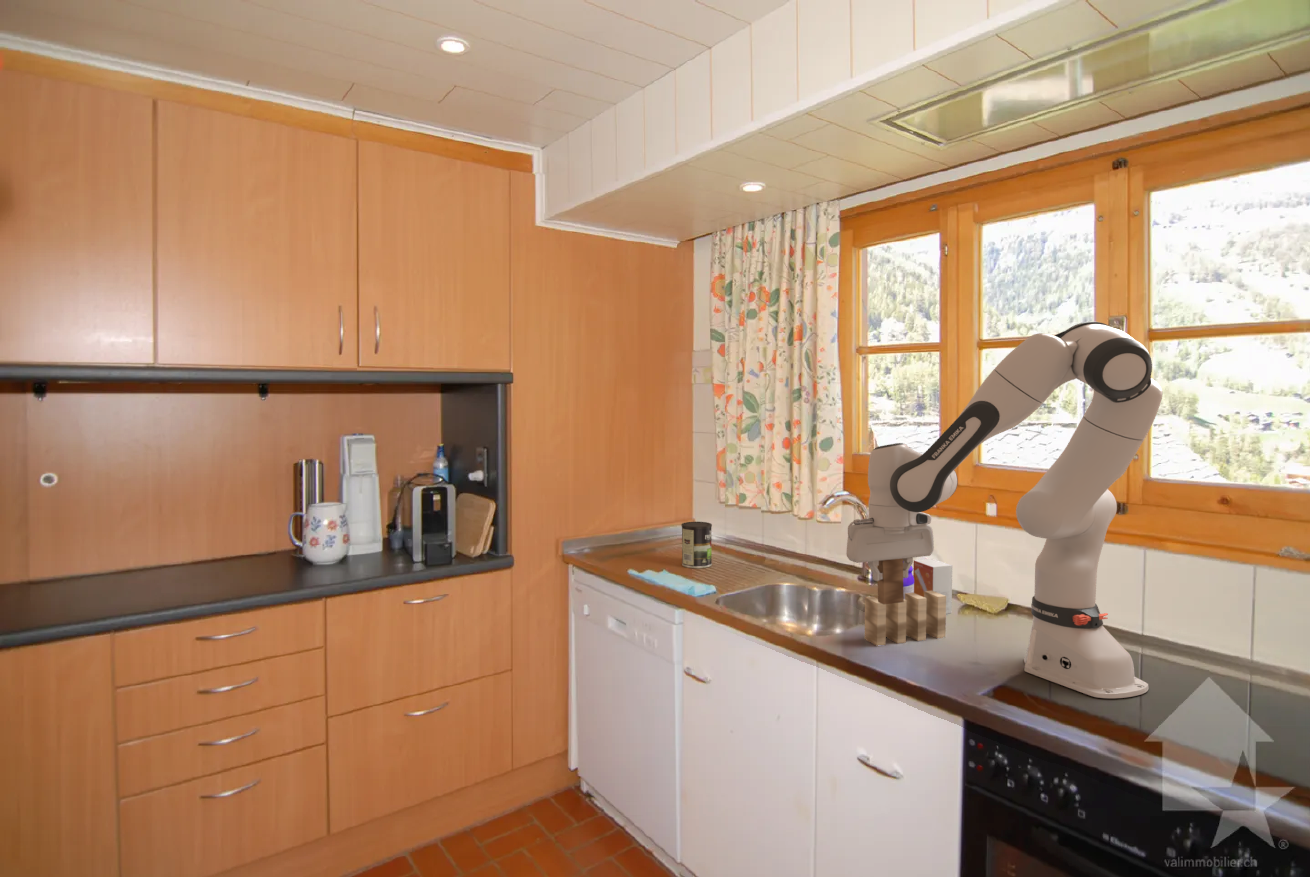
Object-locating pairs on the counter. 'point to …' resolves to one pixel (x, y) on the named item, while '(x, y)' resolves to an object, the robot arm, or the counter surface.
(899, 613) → the domino
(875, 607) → the domino
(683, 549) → the coffee can
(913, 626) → the domino
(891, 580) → the domino
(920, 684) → the counter surface
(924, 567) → the small box
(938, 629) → the domino
